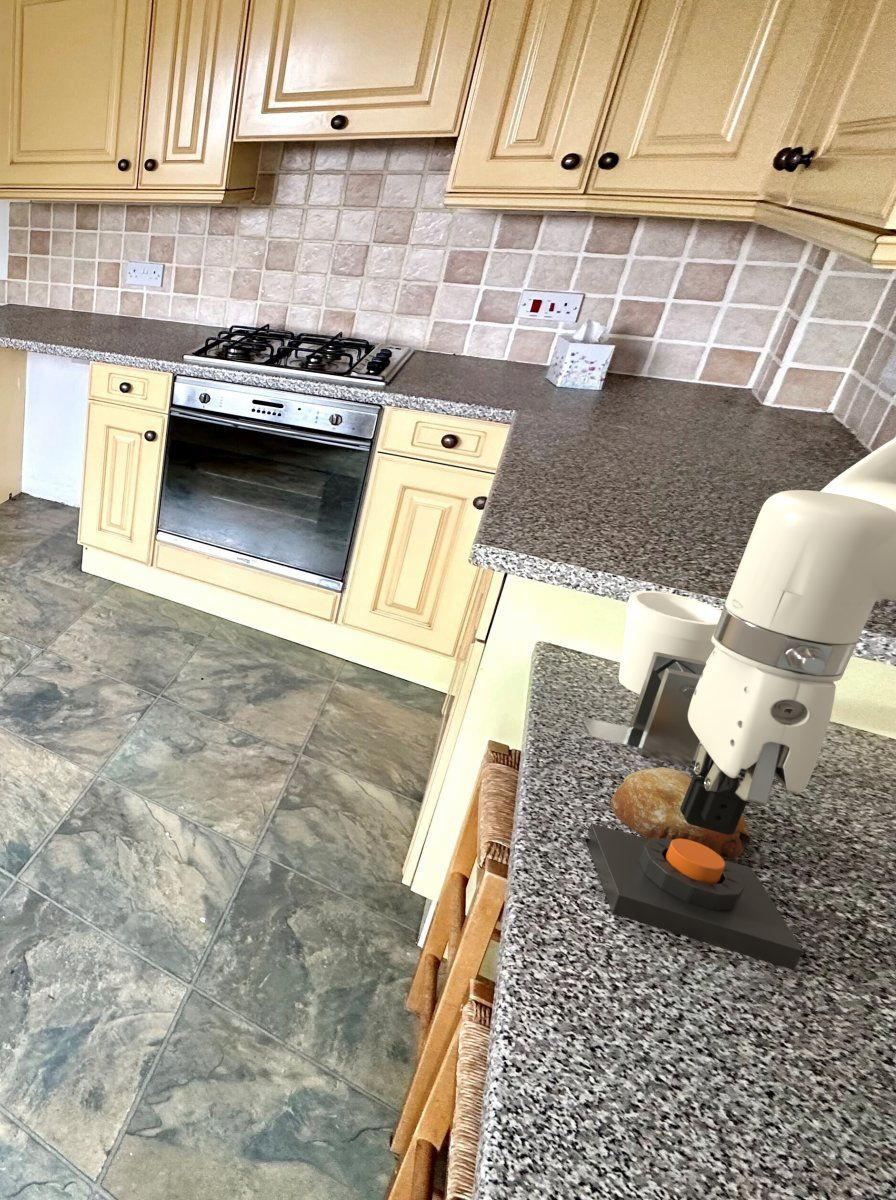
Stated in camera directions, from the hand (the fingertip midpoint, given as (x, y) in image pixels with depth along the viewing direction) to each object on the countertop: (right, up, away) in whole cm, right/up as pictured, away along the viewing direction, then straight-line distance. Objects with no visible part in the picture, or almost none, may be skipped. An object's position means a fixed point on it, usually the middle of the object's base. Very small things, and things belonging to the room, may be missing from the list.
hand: (705, 823), depth 69 cm
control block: (0, -8, +3) cm, 9 cm away
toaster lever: (+18, +4, +17) cm, 25 cm away
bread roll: (+7, -6, +11) cm, 14 cm away
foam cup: (+27, +2, +35) cm, 44 cm away
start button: (0, -5, +2) cm, 5 cm away
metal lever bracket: (+15, -2, +21) cm, 26 cm away
